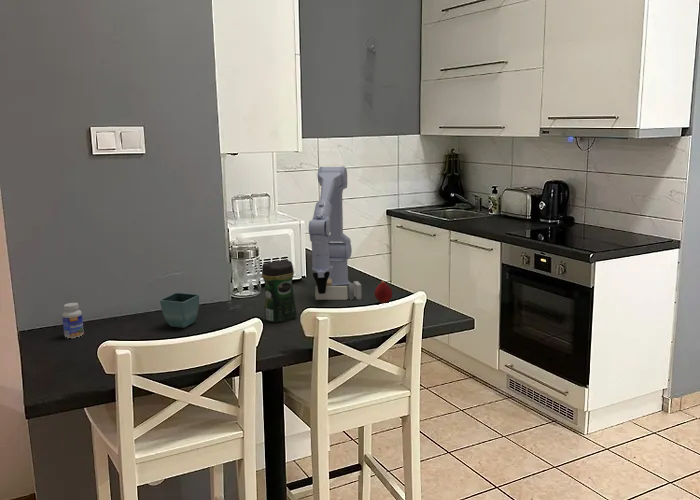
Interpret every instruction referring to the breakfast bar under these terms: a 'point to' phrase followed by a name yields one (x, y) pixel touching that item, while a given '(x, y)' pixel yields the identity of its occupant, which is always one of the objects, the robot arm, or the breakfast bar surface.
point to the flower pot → (180, 309)
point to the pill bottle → (72, 321)
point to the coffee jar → (279, 291)
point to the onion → (383, 292)
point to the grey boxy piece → (354, 290)
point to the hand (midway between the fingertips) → (322, 293)
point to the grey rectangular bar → (333, 293)
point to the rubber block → (329, 282)
